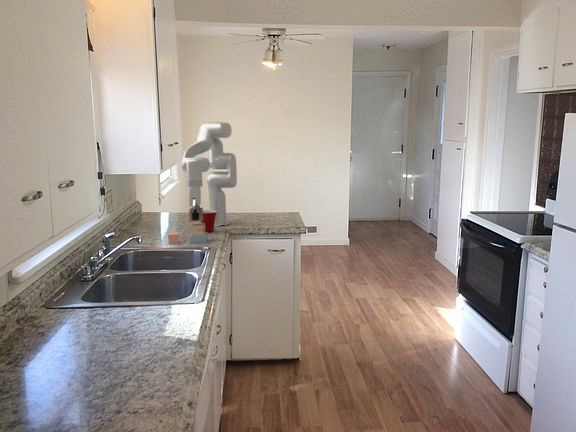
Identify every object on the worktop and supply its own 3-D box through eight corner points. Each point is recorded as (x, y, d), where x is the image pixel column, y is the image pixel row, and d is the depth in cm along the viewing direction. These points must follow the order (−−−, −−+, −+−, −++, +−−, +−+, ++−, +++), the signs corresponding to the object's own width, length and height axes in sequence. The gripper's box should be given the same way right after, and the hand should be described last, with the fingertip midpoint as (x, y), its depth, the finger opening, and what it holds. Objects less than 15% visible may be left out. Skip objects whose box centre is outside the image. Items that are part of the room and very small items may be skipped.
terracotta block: (168, 242, 255) (167, 232, 254) (178, 241, 257) (177, 232, 256) (168, 244, 251) (168, 234, 250) (179, 243, 252) (178, 234, 251)
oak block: (193, 232, 259) (193, 223, 258) (205, 232, 259) (204, 223, 258) (191, 235, 253) (190, 225, 252) (203, 235, 253) (202, 225, 252)
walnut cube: (191, 219, 257) (190, 207, 256) (203, 219, 257) (202, 207, 256) (189, 221, 251) (189, 209, 250) (201, 221, 251) (201, 209, 250)
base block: (192, 240, 260) (191, 232, 260) (207, 239, 261) (207, 232, 260) (190, 243, 253) (189, 236, 252) (205, 243, 253) (205, 235, 252)
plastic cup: (221, 230, 283) (220, 209, 280) (213, 234, 272) (212, 212, 270) (203, 229, 286) (202, 208, 283) (195, 233, 275) (194, 211, 273)
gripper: (189, 181, 259) (191, 215, 262) (184, 185, 242) (186, 222, 245) (204, 181, 259) (205, 215, 263) (200, 185, 242) (202, 221, 246)
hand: (196, 218), depth 254 cm, fingers closed on walnut cube, 6 cm apart
